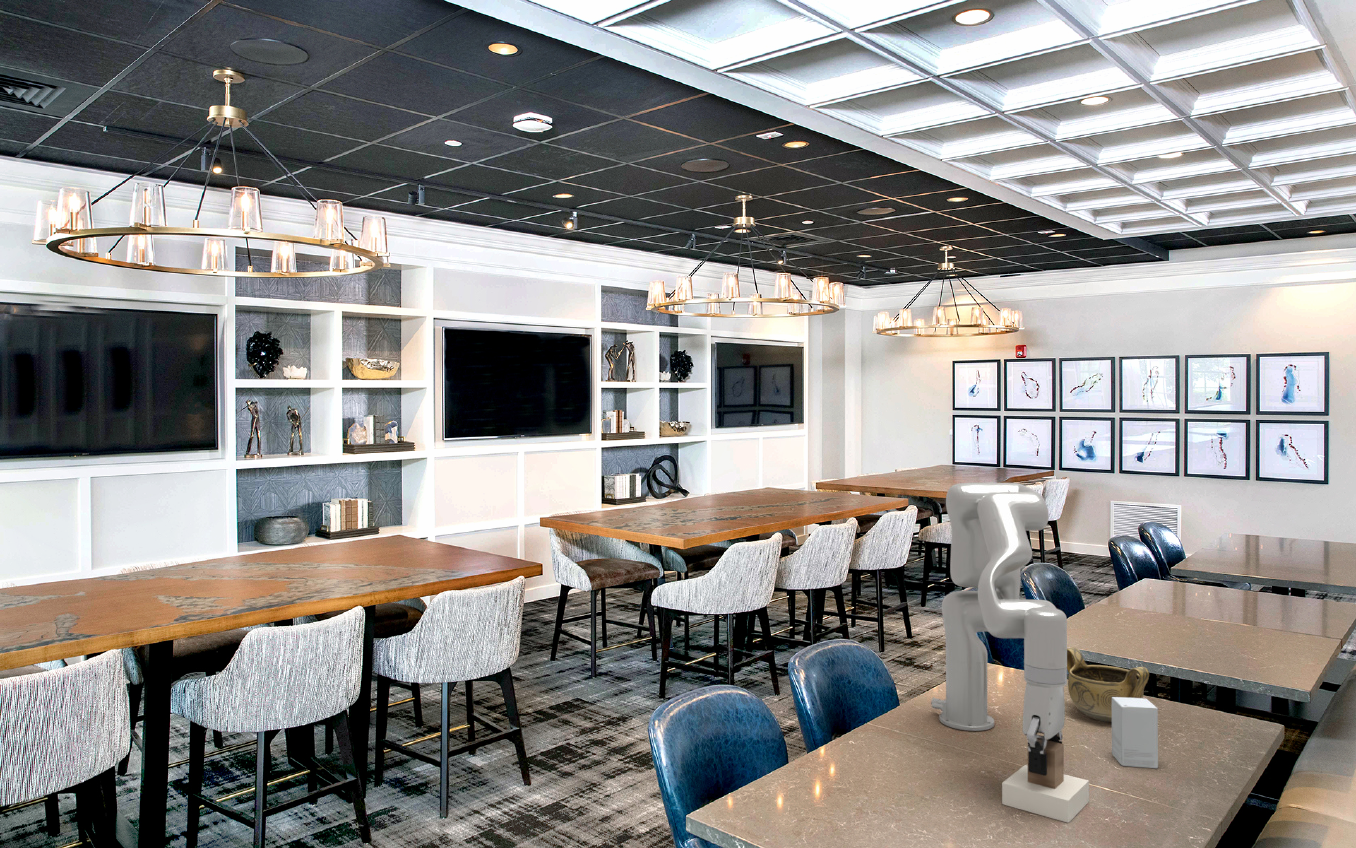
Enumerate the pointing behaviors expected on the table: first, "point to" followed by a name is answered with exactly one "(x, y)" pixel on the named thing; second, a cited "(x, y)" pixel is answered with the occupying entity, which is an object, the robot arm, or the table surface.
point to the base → (1046, 796)
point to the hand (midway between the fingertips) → (1045, 766)
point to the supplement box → (1135, 732)
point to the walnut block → (1050, 766)
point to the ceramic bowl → (1101, 685)
